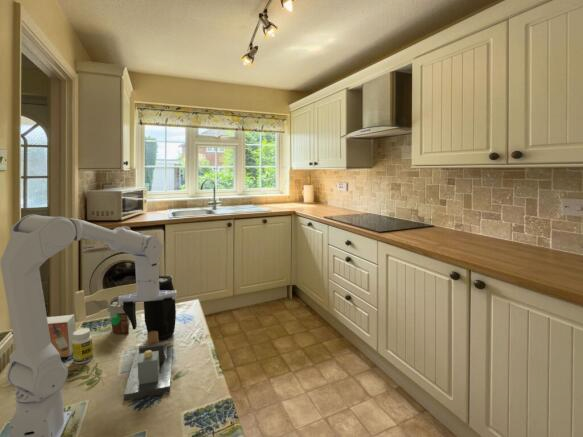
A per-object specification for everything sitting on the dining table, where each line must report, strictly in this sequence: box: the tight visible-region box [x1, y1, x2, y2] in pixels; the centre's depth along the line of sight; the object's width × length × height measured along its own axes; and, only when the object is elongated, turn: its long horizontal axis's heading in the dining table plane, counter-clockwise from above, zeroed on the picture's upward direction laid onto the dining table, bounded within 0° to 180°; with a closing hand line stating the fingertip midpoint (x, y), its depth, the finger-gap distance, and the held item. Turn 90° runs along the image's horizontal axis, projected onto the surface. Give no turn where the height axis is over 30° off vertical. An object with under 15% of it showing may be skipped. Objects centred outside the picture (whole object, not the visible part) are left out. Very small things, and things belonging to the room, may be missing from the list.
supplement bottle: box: [72, 328, 94, 365], centre depth 90 cm, size 5×5×8 cm
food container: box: [106, 296, 131, 336], centre depth 108 cm, size 12×6×10 cm, turn 25°
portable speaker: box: [143, 275, 177, 342], centre depth 103 cm, size 9×9×20 cm
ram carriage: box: [138, 331, 165, 362], centre depth 89 cm, size 7×6×6 cm
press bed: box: [123, 343, 174, 401], centre depth 85 cm, size 20×10×3 cm, turn 18°
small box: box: [47, 314, 77, 358], centre depth 94 cm, size 8×6×10 cm
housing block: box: [138, 350, 160, 384], centre depth 80 cm, size 4×4×7 cm
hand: (149, 325), depth 89 cm, fingers open, 7 cm apart
